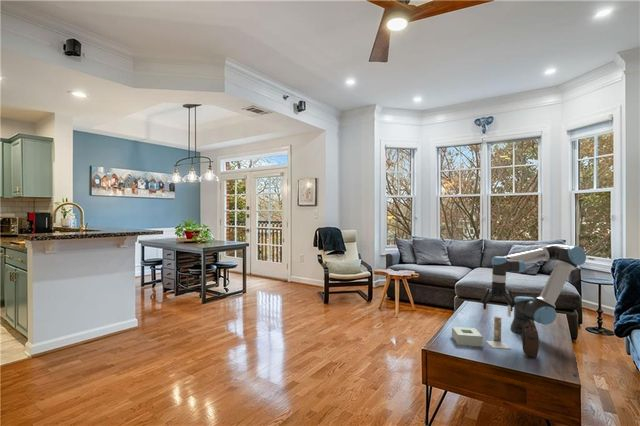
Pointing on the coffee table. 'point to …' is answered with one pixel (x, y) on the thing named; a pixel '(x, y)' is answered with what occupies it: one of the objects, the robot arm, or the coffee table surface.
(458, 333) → the socket block
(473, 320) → the coffee table surface
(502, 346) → the coaster
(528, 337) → the alarm clock
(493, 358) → the coffee table surface
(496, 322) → the peg
